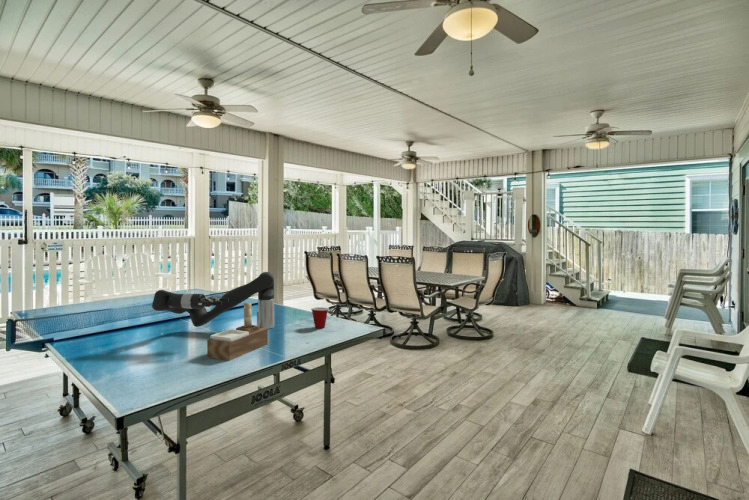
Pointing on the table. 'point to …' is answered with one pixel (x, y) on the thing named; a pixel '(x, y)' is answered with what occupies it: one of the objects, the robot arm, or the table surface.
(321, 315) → the plastic cup
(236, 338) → the tray
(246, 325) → the dowel
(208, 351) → the wooden block with recesses
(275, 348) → the table surface
